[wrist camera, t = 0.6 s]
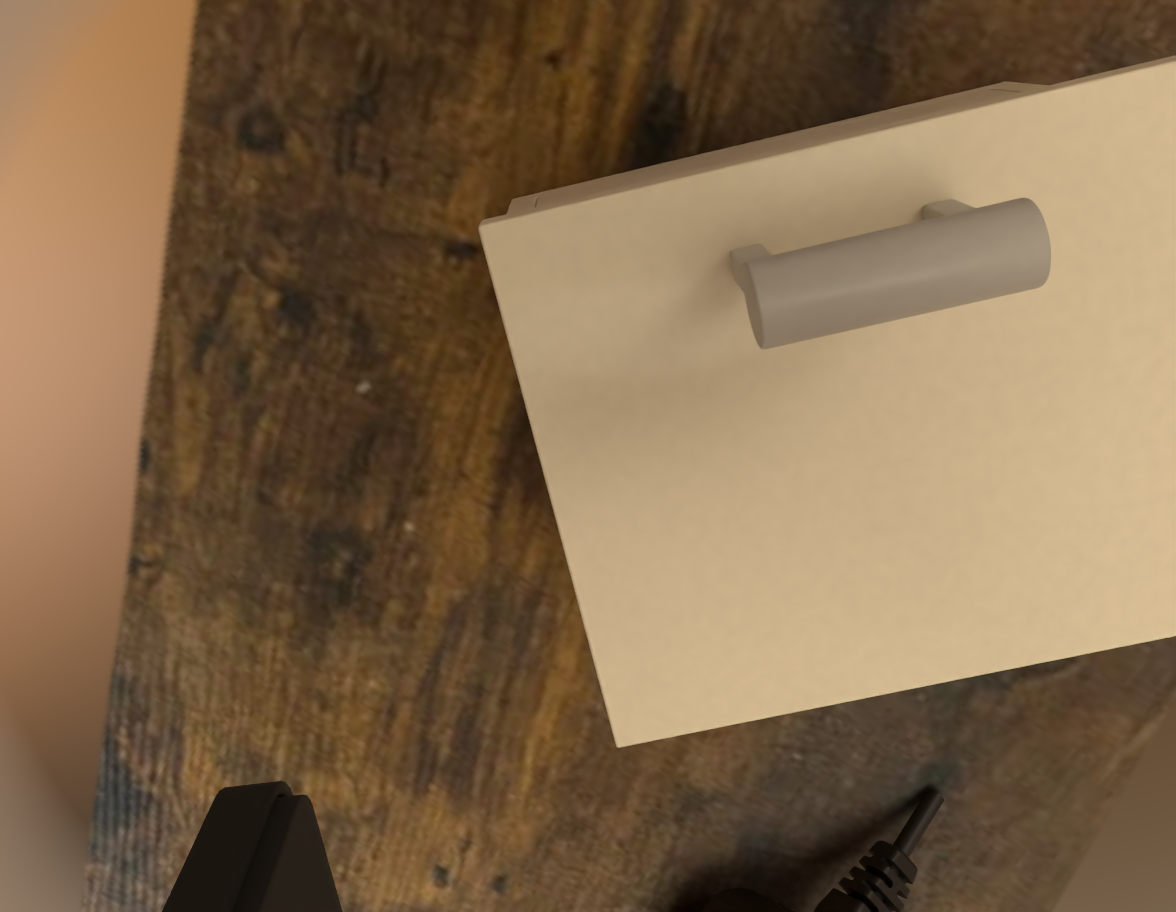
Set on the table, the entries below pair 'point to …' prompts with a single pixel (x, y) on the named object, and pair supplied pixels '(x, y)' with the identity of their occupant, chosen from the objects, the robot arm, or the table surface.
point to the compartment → (769, 144)
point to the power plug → (855, 875)
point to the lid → (862, 404)
